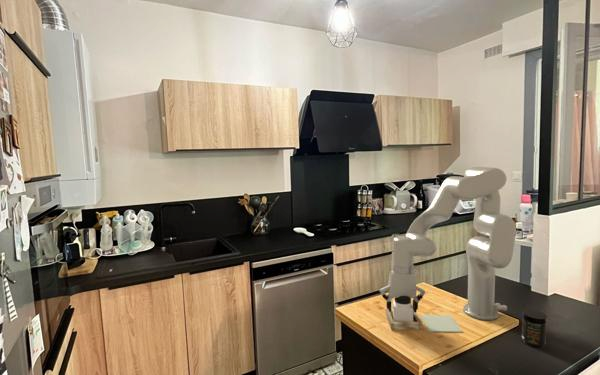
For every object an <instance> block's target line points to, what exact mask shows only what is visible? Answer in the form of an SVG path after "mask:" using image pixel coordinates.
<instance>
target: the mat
mask: <svg viewBox="0 0 600 375" xmlns="http://www.w3.org/2000/svg"><path fill="white" fill-rule="evenodd" d="M419 316H420V317H419V318H421V320H422V322H423V324H424V326H425V328H426V329H427V330H428V332H429V333H464V332H463V331H464V330H462V328H461V327H460V326H459V325H458V323H457V322H456V321H455V319H454V318H453V316H452V315H451V314H448V315H447V314H443V315H440V314H420V315H419Z"/></svg>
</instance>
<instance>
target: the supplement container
mask: <svg viewBox="0 0 600 375" xmlns="http://www.w3.org/2000/svg"><path fill="white" fill-rule="evenodd" d="M521 316H522V317H521V318H522V319H521V320H522V322H521V323H522V325H521V340H522V342H523V343H524V345H525V344H526V345H527V346H529V347H531V348H535V349H536V348H537V349H538V348H539V349H541V348H544V347H545V346H546V340H547V339H546V338H547V319H548V316H547V315H546V314H545V313H544V312H541V311H539V310H534V309H524V310H522V315H521Z"/></svg>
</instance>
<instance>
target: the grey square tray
mask: <svg viewBox="0 0 600 375" xmlns="http://www.w3.org/2000/svg"><path fill="white" fill-rule="evenodd" d="M385 317H386V320H387V323H388V325H389V328H390V330H393V331H394V330H395V331H398V330H400V331H422V330H423V323H422V322H421V319H420V317H419V315H418V314H417V312H416V313H415V312H414V322H394V320H393V308H391V312H389V310H388V309H387V308H386V309H385Z"/></svg>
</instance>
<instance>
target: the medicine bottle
mask: <svg viewBox="0 0 600 375" xmlns="http://www.w3.org/2000/svg"><path fill="white" fill-rule="evenodd" d="M392 309H393V316H392V319H393V322H414V310H413V302H412V298H410V297H409V296H399V297H398V298H394V300H393V301H392Z"/></svg>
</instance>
